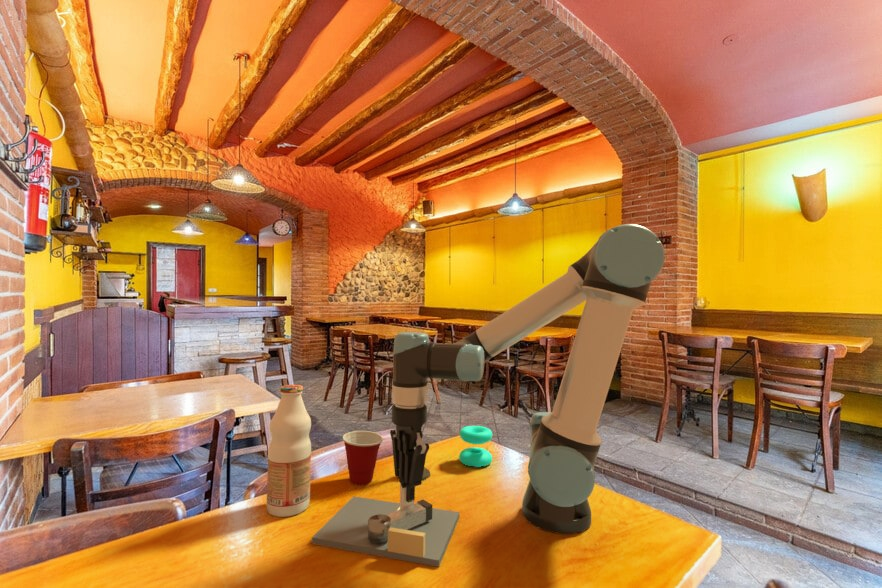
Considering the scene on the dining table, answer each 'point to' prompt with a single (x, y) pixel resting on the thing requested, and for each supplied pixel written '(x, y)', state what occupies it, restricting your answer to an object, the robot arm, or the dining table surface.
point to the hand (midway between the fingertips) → (406, 514)
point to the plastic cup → (361, 455)
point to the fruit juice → (289, 455)
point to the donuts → (475, 454)
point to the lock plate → (406, 545)
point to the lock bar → (398, 520)
